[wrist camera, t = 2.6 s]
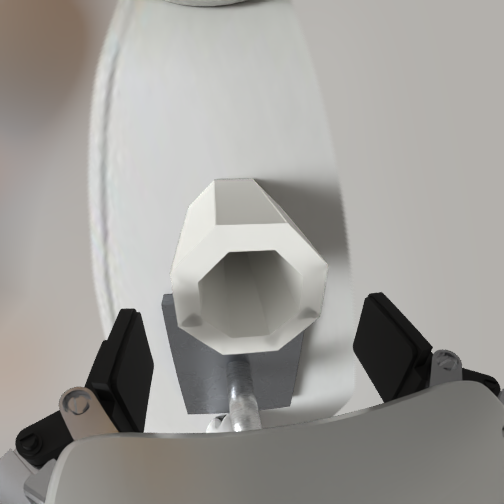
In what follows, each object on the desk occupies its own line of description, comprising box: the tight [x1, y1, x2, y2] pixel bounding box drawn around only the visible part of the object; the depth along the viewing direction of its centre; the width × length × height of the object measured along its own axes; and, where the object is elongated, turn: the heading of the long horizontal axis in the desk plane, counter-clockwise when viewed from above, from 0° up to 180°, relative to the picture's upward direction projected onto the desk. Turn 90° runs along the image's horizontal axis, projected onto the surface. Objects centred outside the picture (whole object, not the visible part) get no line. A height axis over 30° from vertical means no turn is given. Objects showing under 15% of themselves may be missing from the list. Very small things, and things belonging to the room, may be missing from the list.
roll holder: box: [162, 294, 304, 432], centre depth 22 cm, size 16×12×11 cm
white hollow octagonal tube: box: [170, 179, 328, 355], centre depth 16 cm, size 7×7×10 cm
